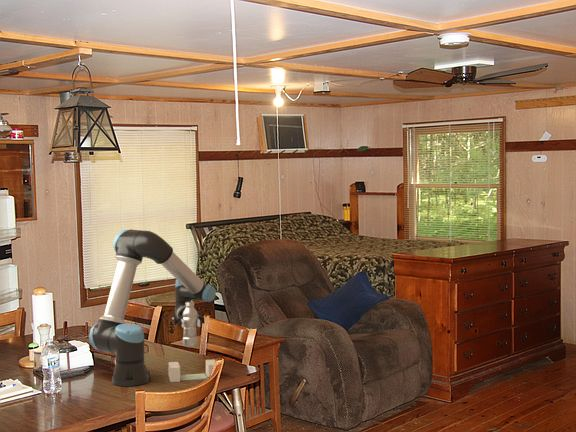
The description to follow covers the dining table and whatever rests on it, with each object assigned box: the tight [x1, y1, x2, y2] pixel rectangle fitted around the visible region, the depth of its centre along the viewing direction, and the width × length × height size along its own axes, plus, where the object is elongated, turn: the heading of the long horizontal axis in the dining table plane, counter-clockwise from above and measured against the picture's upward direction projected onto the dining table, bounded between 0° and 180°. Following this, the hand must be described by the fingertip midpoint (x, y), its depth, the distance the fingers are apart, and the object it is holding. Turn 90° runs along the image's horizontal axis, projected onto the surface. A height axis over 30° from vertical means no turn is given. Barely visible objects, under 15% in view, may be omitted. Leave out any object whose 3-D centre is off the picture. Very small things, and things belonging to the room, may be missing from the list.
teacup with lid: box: [32, 343, 45, 370], centre depth 341 cm, size 12×9×12 cm
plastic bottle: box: [181, 300, 199, 348], centre depth 339 cm, size 6×7×20 cm
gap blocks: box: [167, 358, 216, 383], centre depth 329 cm, size 10×20×6 cm, turn 104°
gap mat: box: [180, 372, 208, 382], centre depth 329 cm, size 8×11×1 cm
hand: (191, 324), depth 334 cm, fingers closed on plastic bottle, 6 cm apart
